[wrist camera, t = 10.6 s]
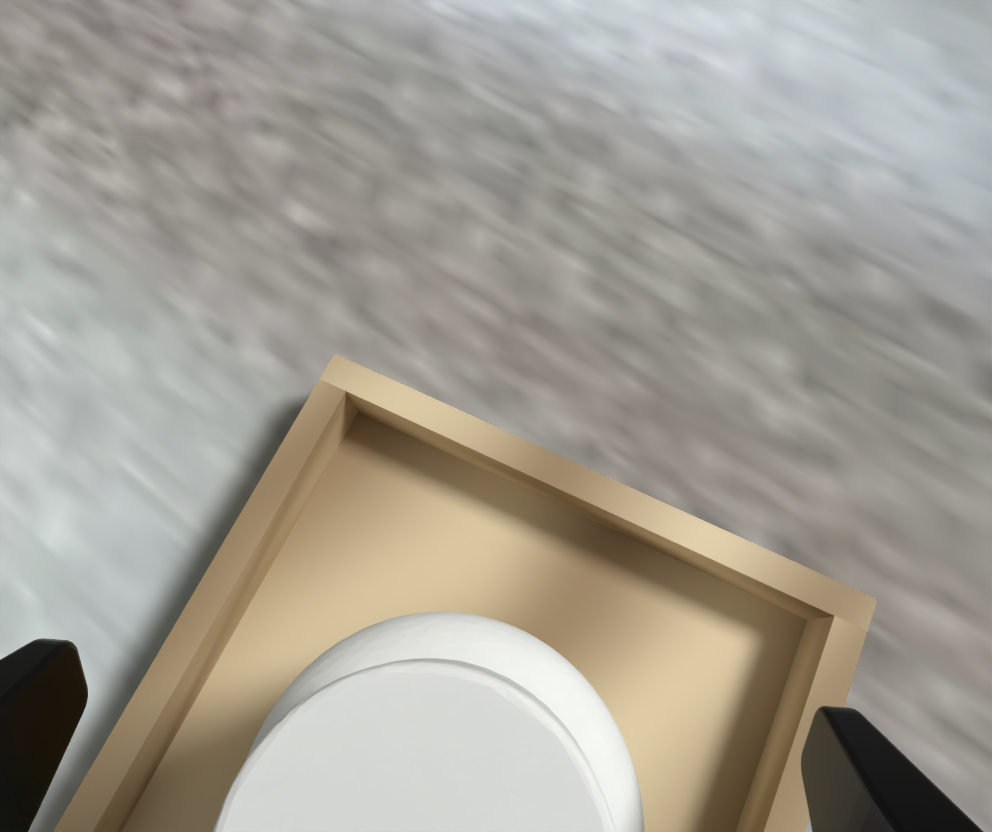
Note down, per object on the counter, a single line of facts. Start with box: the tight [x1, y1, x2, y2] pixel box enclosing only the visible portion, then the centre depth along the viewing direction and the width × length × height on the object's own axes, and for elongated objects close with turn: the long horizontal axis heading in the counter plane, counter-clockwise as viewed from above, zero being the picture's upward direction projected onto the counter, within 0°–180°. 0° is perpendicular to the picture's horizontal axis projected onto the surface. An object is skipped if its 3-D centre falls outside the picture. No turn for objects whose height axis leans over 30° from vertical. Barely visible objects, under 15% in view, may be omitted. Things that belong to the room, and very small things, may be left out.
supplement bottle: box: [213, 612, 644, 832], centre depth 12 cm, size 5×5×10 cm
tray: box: [53, 354, 877, 832], centre depth 16 cm, size 13×13×2 cm
